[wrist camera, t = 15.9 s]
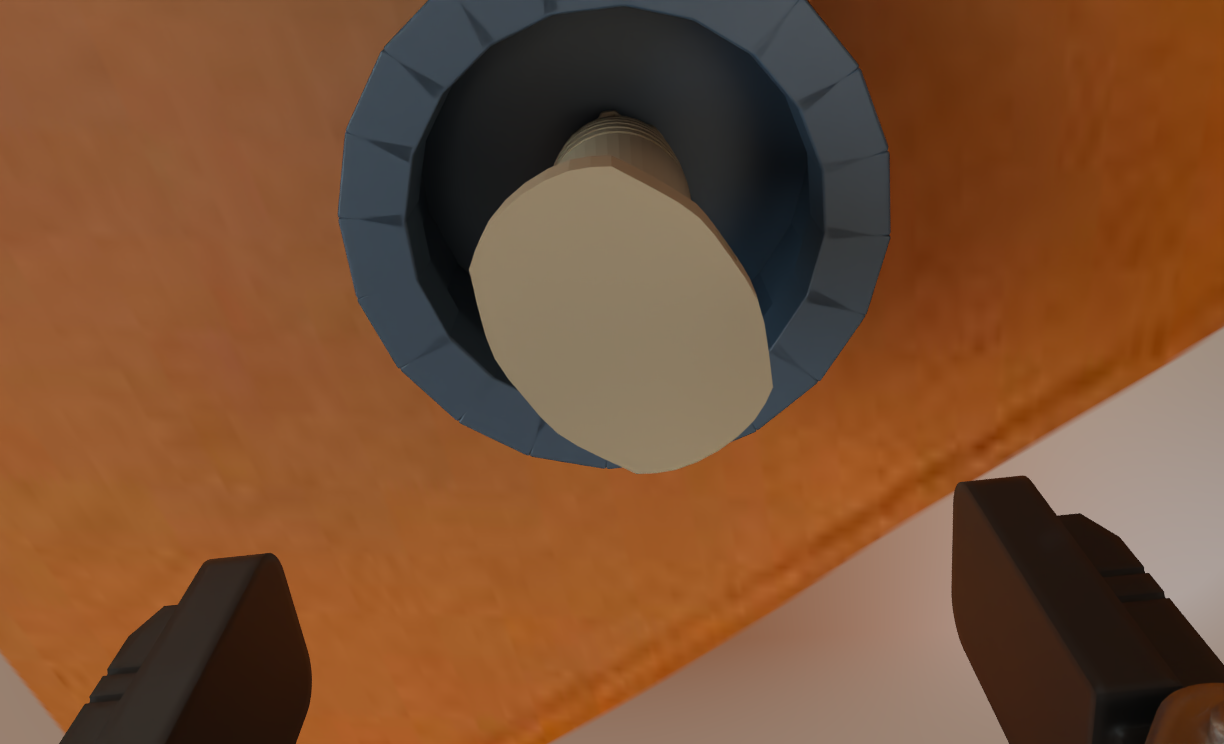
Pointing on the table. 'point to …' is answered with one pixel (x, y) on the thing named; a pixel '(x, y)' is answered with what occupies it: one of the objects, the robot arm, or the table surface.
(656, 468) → the handle
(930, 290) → the table surface
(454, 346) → the jar
